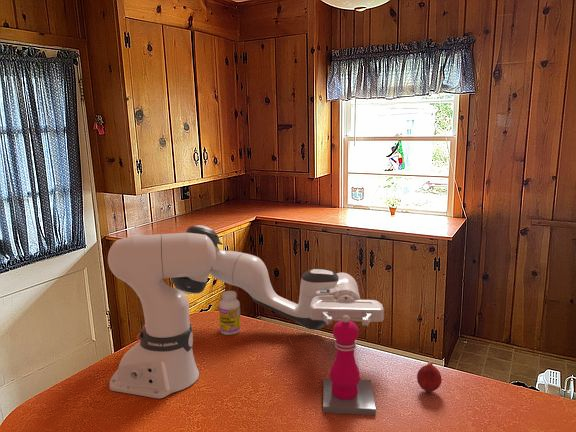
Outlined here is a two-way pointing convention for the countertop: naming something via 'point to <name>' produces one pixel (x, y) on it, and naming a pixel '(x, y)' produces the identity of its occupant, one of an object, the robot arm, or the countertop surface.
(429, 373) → the onion
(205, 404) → the countertop surface
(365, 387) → the silver flat square block
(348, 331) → the pepper mill
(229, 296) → the supplement bottle
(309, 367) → the countertop surface
